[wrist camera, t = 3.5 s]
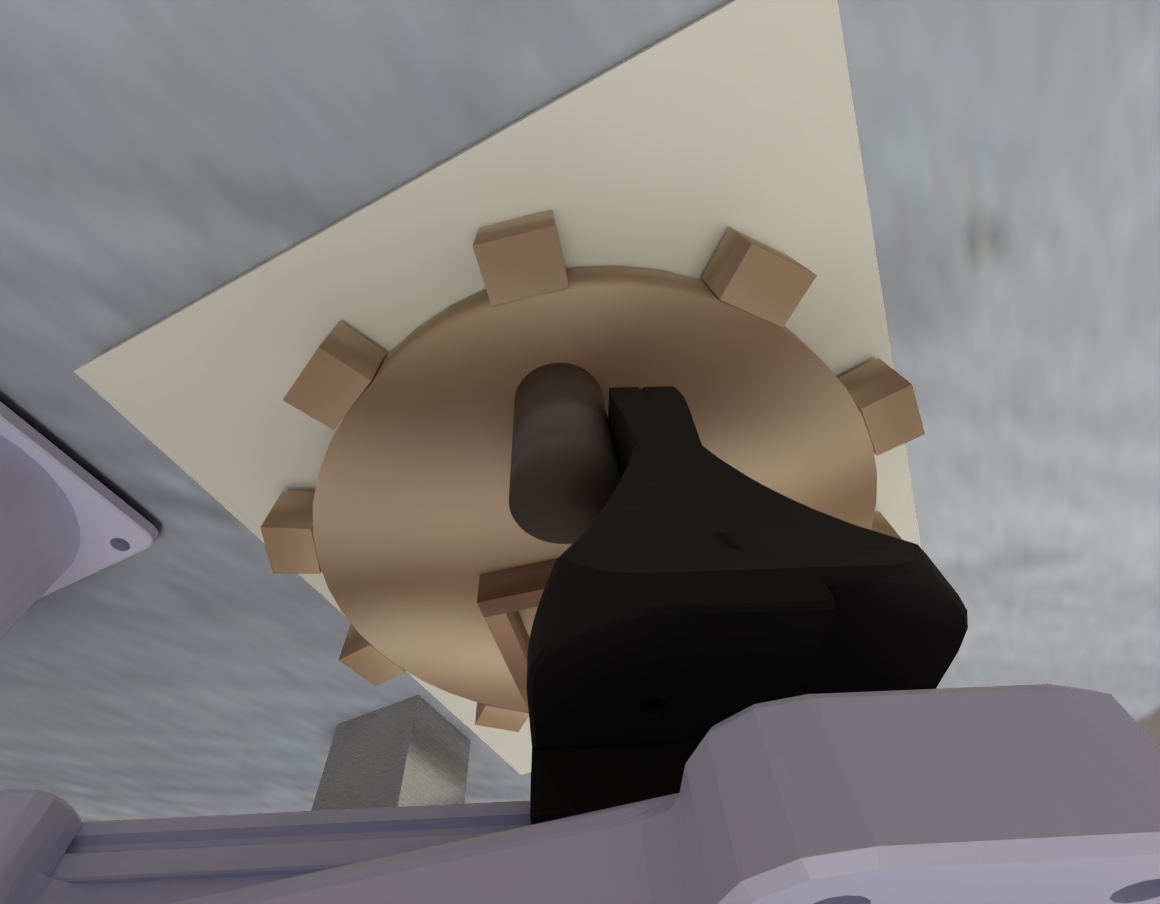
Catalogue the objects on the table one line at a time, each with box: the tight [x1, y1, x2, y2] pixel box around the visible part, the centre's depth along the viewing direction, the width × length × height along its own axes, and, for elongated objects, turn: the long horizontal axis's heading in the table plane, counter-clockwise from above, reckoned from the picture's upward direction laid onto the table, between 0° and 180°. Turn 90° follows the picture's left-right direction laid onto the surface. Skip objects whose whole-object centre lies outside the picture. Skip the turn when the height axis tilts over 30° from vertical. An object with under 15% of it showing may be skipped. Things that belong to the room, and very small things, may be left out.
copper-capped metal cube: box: [311, 695, 470, 811], centre depth 22 cm, size 4×4×5 cm
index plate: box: [74, 0, 921, 775], centre depth 17 cm, size 18×22×2 cm
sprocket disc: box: [260, 210, 925, 732], centre depth 14 cm, size 17×17×5 cm
